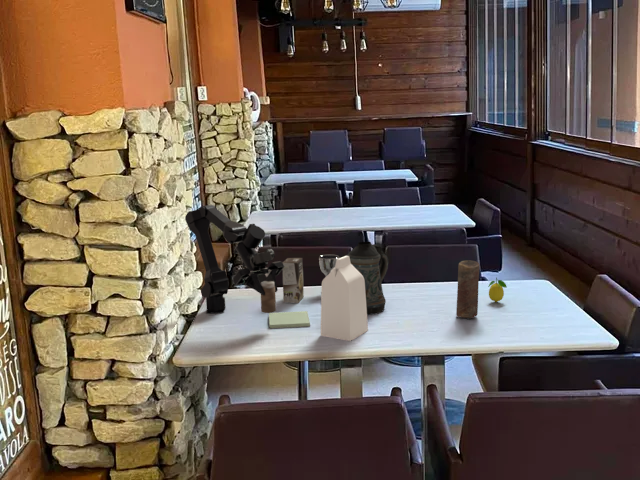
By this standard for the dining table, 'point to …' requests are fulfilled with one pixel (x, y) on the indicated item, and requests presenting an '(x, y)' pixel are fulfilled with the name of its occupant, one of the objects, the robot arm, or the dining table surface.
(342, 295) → the milk
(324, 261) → the wine glass
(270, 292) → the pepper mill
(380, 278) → the beer stein
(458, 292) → the candle
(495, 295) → the lemon
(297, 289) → the coffee box
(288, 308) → the dining table surface
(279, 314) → the serving board
